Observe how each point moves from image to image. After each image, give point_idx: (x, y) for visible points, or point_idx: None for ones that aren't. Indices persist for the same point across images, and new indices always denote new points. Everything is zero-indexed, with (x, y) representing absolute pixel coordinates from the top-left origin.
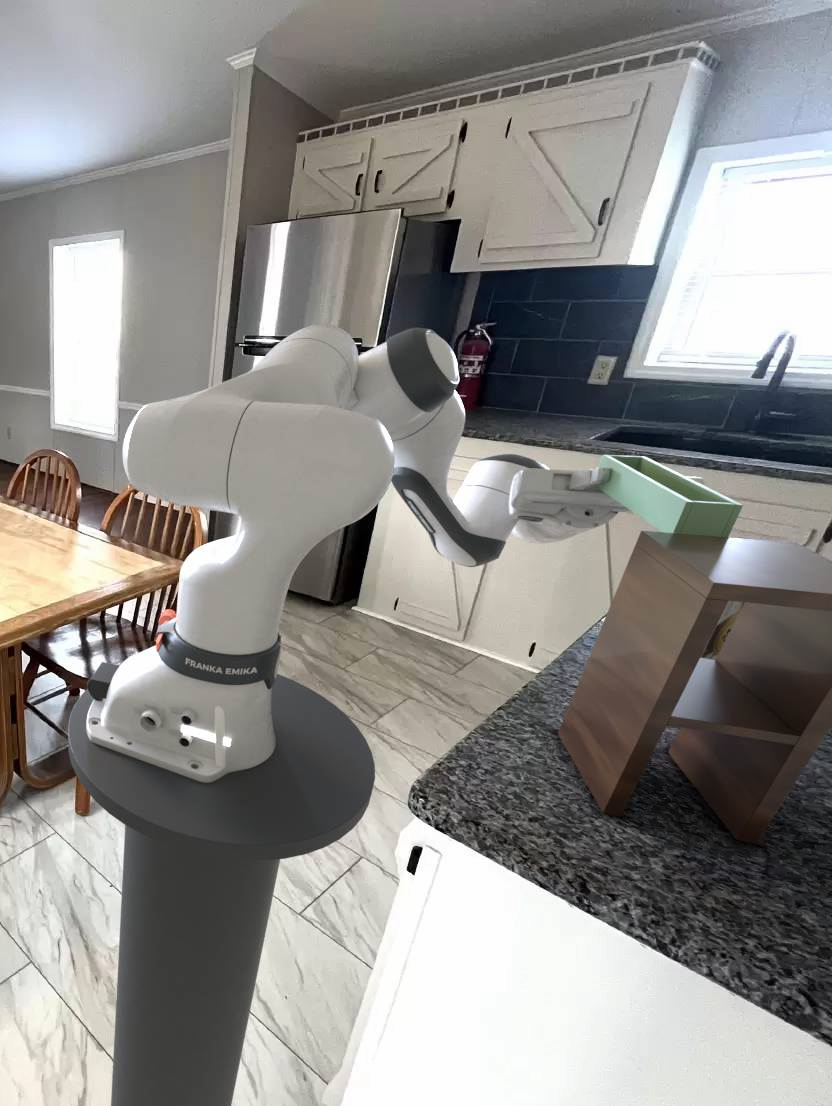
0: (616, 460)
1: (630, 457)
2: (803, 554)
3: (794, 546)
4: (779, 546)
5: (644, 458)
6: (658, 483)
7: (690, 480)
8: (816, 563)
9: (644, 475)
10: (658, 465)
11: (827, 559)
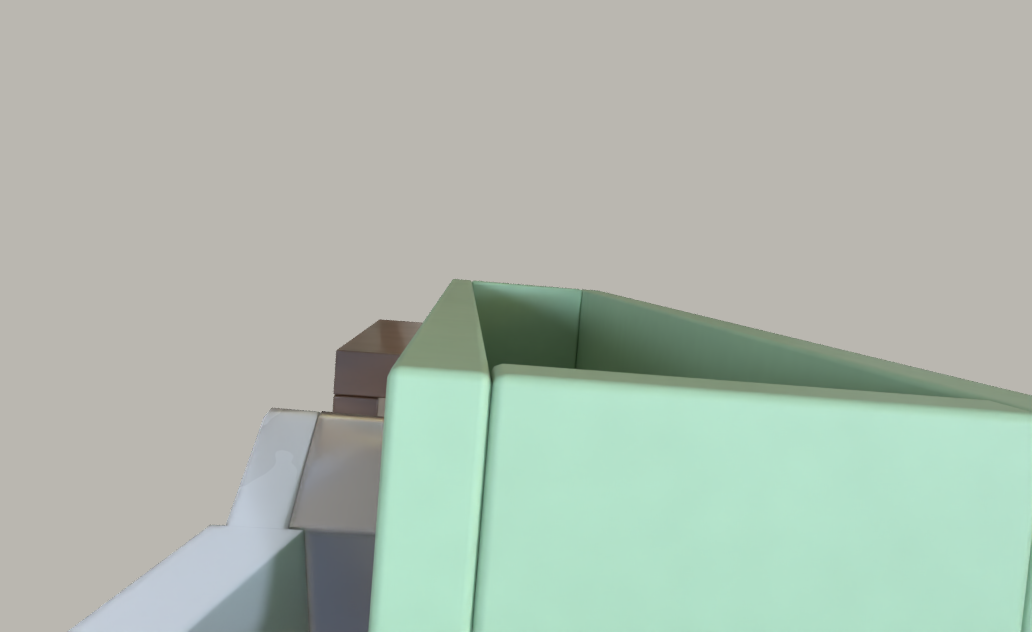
0: (848, 354)
1: (664, 387)
2: (386, 341)
3: (365, 347)
4: (402, 348)
5: (482, 350)
6: (628, 301)
7: (462, 291)
8: (399, 336)
9: (663, 310)
10: (476, 315)
11: (358, 337)
